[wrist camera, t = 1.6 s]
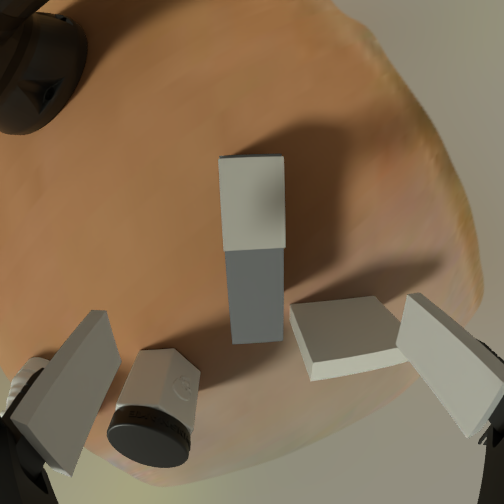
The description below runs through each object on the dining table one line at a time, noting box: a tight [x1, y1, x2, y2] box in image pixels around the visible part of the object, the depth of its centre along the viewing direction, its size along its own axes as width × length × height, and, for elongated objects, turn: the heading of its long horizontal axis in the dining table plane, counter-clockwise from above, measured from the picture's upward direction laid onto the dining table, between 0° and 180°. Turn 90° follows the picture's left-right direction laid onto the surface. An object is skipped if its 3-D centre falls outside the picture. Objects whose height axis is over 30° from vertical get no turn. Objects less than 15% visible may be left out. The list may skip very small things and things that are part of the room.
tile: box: [290, 296, 408, 381], centre depth 25 cm, size 2×10×10 cm, turn 92°
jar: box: [107, 348, 201, 468], centre depth 26 cm, size 9×8×12 cm
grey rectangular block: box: [218, 154, 286, 344], centre depth 23 cm, size 14×4×8 cm, turn 2°
